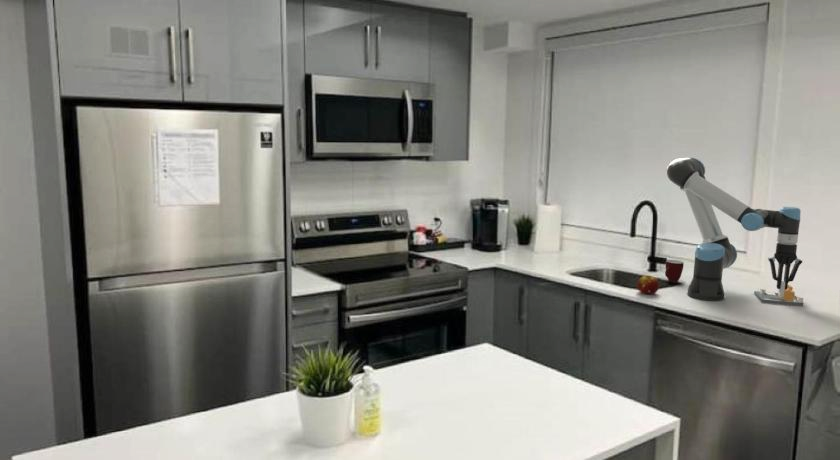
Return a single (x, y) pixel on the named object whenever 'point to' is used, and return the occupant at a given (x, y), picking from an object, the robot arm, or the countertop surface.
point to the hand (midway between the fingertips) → (780, 296)
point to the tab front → (788, 295)
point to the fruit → (648, 284)
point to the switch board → (776, 298)
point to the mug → (673, 270)
